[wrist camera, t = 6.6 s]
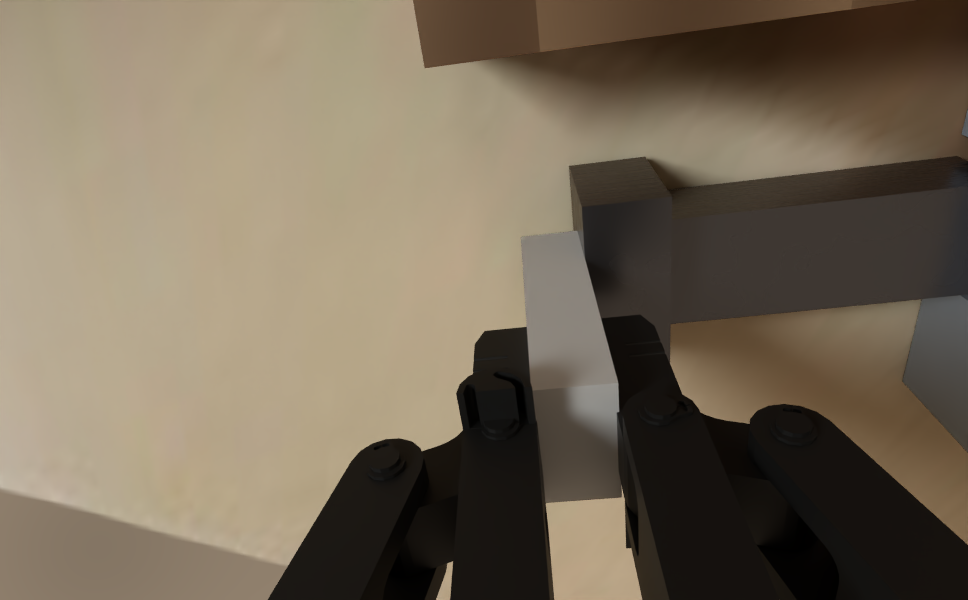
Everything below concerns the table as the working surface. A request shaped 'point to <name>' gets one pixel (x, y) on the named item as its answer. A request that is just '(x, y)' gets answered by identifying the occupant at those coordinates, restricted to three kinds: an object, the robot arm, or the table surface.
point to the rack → (585, 22)
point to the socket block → (942, 359)
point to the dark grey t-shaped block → (770, 240)
